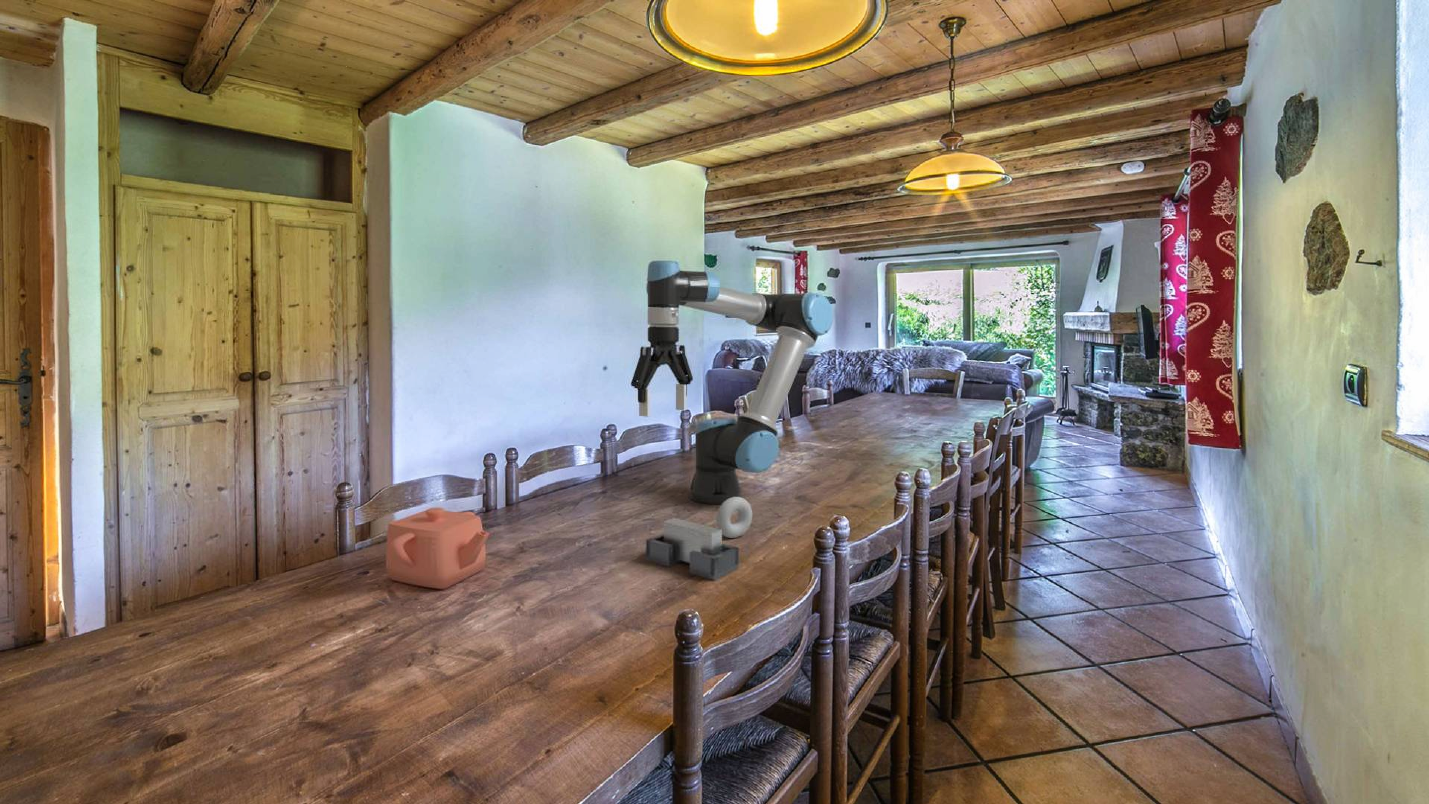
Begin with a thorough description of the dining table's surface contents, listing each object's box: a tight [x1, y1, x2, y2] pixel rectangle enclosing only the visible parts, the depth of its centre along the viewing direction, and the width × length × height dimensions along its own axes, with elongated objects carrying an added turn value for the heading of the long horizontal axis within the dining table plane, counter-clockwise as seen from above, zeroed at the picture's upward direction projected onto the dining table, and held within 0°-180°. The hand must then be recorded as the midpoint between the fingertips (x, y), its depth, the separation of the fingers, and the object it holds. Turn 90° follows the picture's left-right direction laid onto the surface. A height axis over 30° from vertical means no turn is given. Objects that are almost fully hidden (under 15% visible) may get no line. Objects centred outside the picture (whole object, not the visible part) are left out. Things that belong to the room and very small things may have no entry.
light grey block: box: [663, 517, 723, 564], centre depth 144 cm, size 4×13×8 cm, turn 53°
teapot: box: [385, 507, 490, 590], centre depth 135 cm, size 20×22×14 cm
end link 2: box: [689, 543, 740, 582], centre depth 141 cm, size 8×6×4 cm
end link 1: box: [645, 533, 683, 568], centre depth 148 cm, size 8×6×4 cm
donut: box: [715, 496, 753, 539], centre depth 162 cm, size 10×4×10 cm, turn 125°
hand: (663, 413), depth 167 cm, fingers open, 13 cm apart
